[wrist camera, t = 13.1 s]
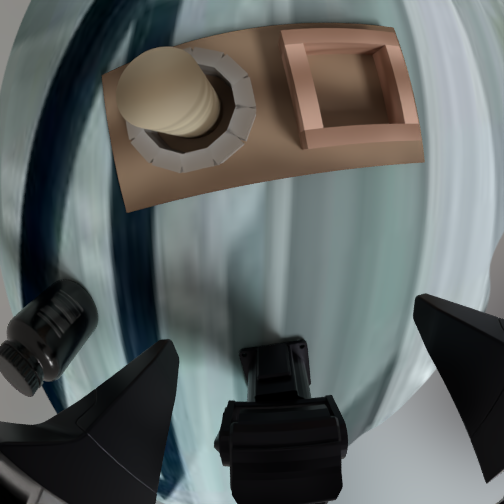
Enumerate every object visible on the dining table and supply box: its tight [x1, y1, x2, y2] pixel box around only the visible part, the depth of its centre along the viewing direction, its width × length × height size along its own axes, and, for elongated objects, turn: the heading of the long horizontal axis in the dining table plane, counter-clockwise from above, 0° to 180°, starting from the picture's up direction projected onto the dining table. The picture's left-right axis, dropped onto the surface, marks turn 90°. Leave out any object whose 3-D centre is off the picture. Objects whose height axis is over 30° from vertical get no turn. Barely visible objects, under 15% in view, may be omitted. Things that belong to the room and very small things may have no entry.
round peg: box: [116, 47, 223, 139], centre depth 13 cm, size 4×4×8 cm
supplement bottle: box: [0, 279, 98, 397], centre depth 19 cm, size 7×7×12 cm
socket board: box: [102, 23, 425, 213], centre depth 16 cm, size 12×24×4 cm, turn 101°
